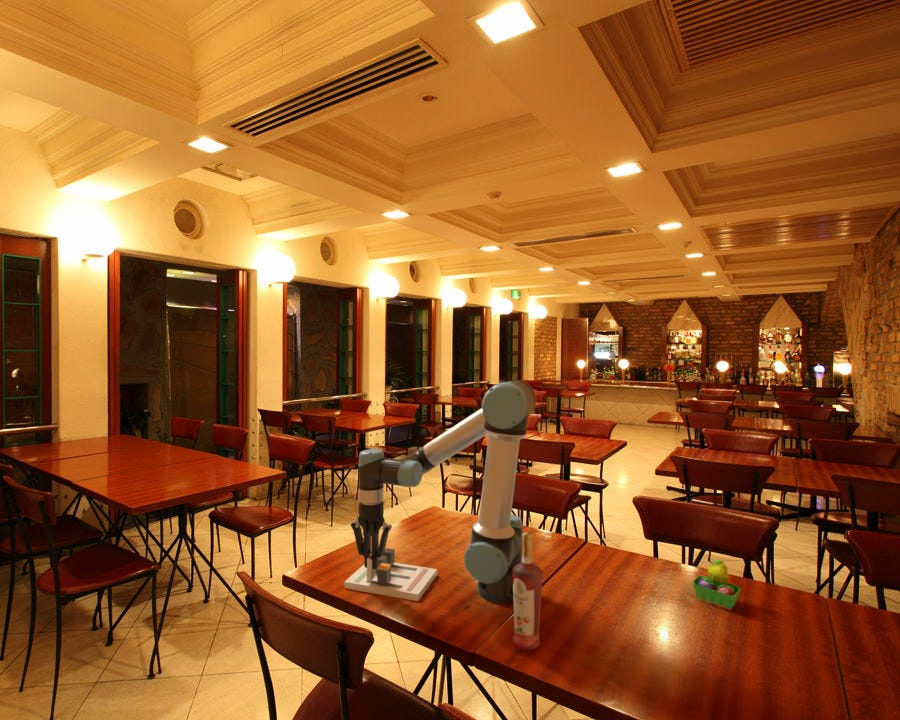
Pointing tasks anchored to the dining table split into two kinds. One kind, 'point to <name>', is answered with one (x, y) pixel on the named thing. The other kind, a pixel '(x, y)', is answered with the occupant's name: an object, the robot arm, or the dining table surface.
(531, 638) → the liquor
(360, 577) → the panel
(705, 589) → the fruit basket
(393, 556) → the handle far
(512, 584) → the robot arm
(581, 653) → the dining table surface
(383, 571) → the handle
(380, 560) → the handle middle
